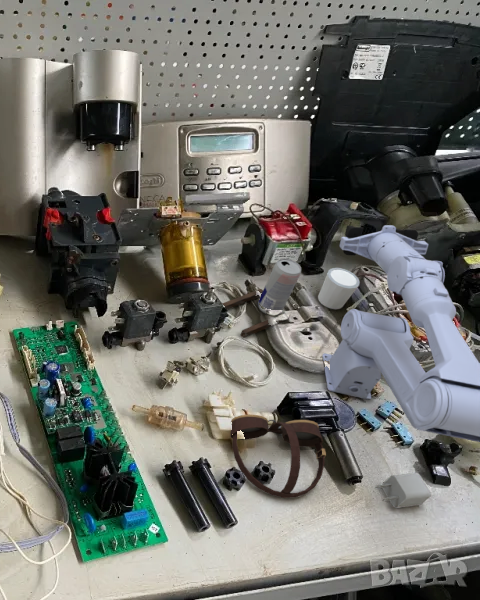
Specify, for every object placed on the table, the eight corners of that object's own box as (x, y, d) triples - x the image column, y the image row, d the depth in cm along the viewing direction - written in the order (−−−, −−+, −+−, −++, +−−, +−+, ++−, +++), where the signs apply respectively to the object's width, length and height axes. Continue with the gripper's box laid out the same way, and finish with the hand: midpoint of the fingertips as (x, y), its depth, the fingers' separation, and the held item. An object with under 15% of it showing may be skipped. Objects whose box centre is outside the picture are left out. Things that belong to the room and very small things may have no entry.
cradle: (258, 293, 119) (261, 288, 118) (287, 319, 113) (290, 314, 112) (215, 310, 113) (216, 305, 112) (243, 338, 108) (245, 333, 107)
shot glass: (308, 294, 120) (320, 270, 115) (330, 287, 122) (343, 264, 118) (330, 314, 116) (343, 290, 111) (352, 307, 118) (366, 283, 113)
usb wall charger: (419, 506, 84) (432, 494, 81) (380, 511, 83) (393, 499, 80) (404, 483, 87) (416, 470, 84) (366, 487, 86) (378, 475, 83)
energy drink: (272, 297, 118) (292, 256, 110) (286, 314, 114) (307, 272, 106) (252, 301, 116) (270, 259, 108) (265, 318, 113) (285, 276, 105)
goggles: (309, 430, 92) (336, 408, 84) (322, 508, 85) (353, 492, 77) (223, 421, 92) (241, 398, 84) (228, 498, 85) (249, 482, 77)
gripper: (445, 236, 90) (412, 213, 102) (355, 232, 92) (334, 210, 104) (432, 274, 93) (402, 247, 105) (346, 269, 95) (326, 243, 107)
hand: (368, 231), depth 105 cm, fingers open, 7 cm apart
